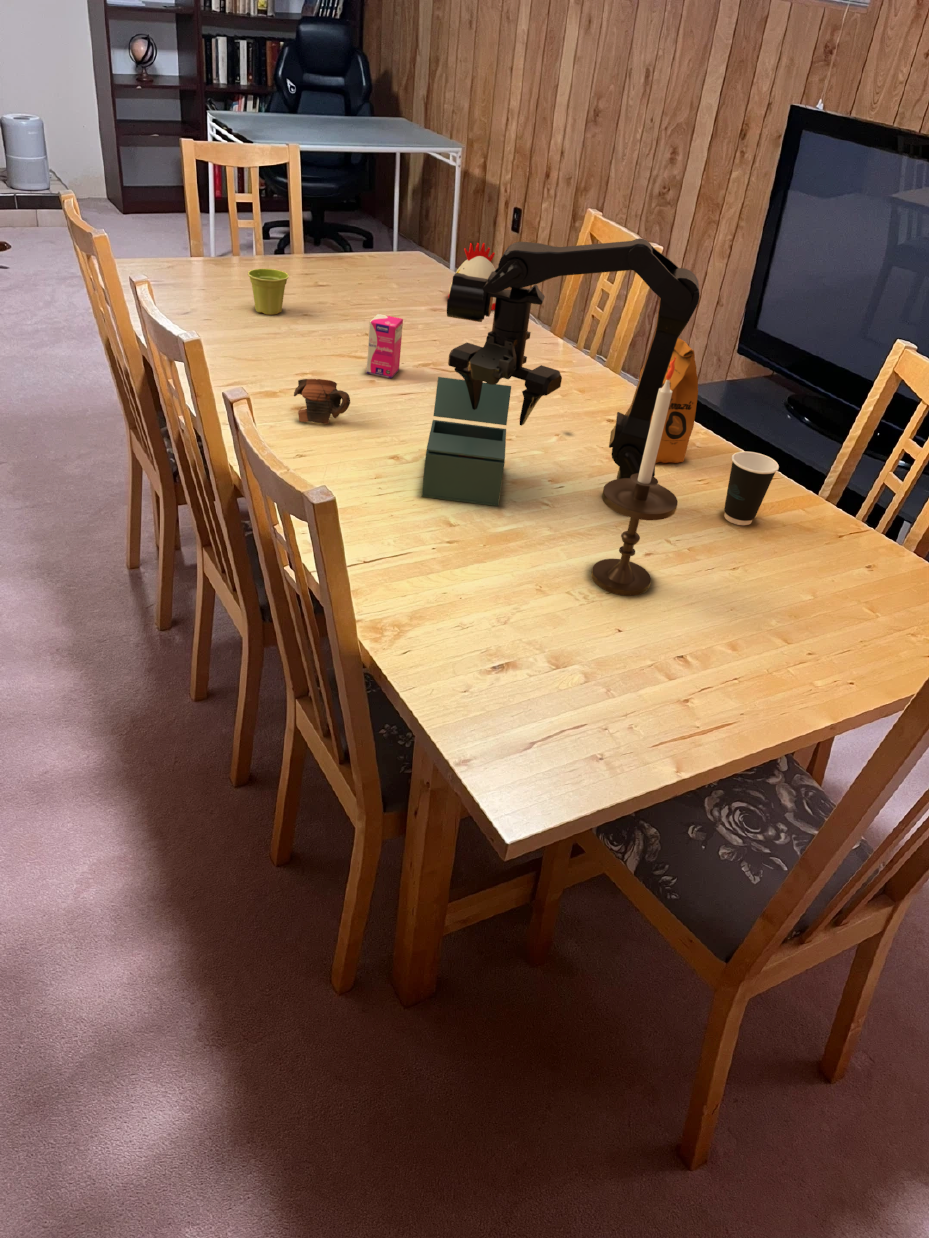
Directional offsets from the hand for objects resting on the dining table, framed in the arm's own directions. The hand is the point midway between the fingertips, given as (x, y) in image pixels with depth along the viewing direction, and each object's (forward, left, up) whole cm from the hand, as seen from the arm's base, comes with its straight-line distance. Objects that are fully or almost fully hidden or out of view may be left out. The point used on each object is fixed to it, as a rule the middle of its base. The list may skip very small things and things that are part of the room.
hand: (498, 416), depth 166 cm
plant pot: (+89, +27, -12) cm, 94 cm away
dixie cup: (-18, -40, -12) cm, 46 cm away
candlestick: (-34, -10, -12) cm, 38 cm away
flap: (+7, +2, 0) cm, 7 cm away
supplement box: (+50, +8, -12) cm, 52 cm away
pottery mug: (+28, +25, -12) cm, 39 cm away
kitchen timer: (+99, -28, -12) cm, 103 cm away
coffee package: (+9, -37, -12) cm, 40 cm away
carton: (-1, +5, -12) cm, 13 cm away
